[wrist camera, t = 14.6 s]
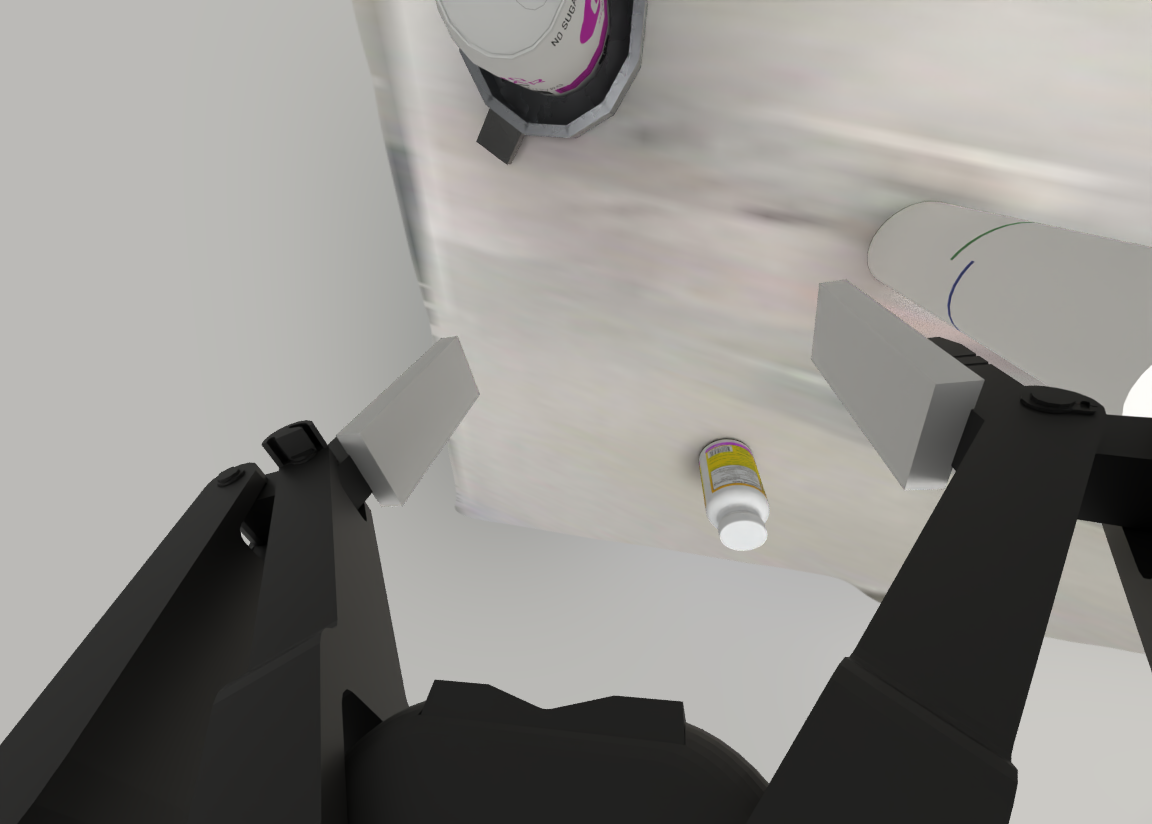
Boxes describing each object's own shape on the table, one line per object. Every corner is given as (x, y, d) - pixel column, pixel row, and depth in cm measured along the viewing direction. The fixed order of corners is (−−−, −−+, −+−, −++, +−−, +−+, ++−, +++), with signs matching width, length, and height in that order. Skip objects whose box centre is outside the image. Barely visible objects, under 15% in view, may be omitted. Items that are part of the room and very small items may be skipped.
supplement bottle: (734, 483, 54) (754, 565, 44) (689, 466, 54) (697, 545, 44) (763, 447, 51) (791, 528, 40) (714, 429, 50) (730, 505, 40)
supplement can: (608, -58, 28) (571, -209, 16) (614, 90, 33) (589, 61, 21) (498, -34, 30) (389, -155, 18) (518, 105, 34) (442, 85, 22)
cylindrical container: (851, 276, 38) (1075, 430, 18) (899, 192, 34) (1260, 269, 14) (925, 293, 38) (1239, 470, 18) (983, 211, 34) (1477, 318, 14)
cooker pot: (546, -213, 26) (530, -265, 23) (709, -54, 28) (716, -79, 25) (439, 102, 36) (418, 98, 33) (566, 198, 39) (558, 203, 35)
